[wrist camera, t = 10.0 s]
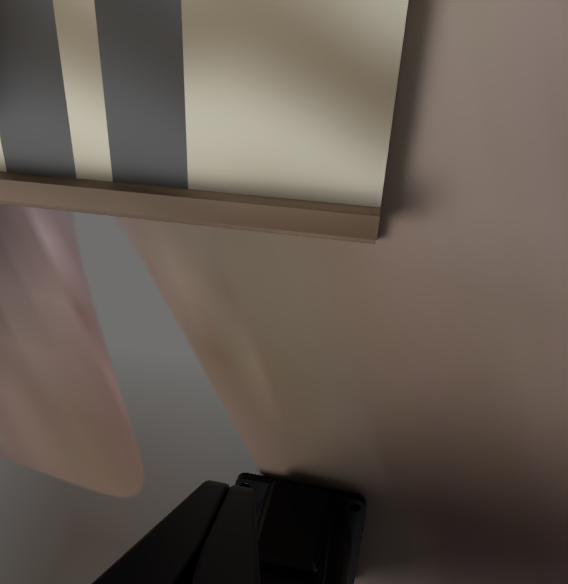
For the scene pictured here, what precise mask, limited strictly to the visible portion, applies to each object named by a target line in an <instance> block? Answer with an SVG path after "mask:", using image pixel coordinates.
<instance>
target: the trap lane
mask: <svg viewBox="0 0 568 584" xmlns="http://www.w3.org/2000/svg"><path fill="white" fill-rule="evenodd" d="M408 1H409V0H0V204H7V205H16V206H26V207H35V208H44V209H54V210H63V211H72V212H82V213H92V214H100V215H110V216H119V217H128V218H138V219H147V220H156V221H165V222H175V223H184V224H193V225H203V226H212V227H221V228H231V229H240V230H249V231H259V232H268V233H277V234H287V235H296V236H305V237H315V238H324V239H333V240H342V241H352V242H361V243H370V244H375V242H376V240H377V235H378V228H379V221H380V208H381V200H382V193H383V185H384V178H385V171H386V163H387V156H388V149H389V141H390V134H391V126H392V119H393V112H394V104H395V97H396V89H397V82H398V75H399V67H400V60H401V53H402V45H403V38H404V30H405V23H406V16H407V8H408Z"/></svg>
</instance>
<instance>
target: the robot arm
mask: <svg viewBox="0 0 568 584" xmlns="http://www.w3.org/2000/svg"><path fill="white" fill-rule="evenodd" d="M245 483H247V484H245ZM354 504H358V505H354ZM365 514H366V499H365V498H364V497H363V496H362V495H360V494H356V493H351V492H346V491H340V490H335V489H330V488H324V487H319V486H314V485H309V484H303V483H298V482H293V481H287V480H282V479H277V478H271V477H266V476H261V475H256V474H250V473H242V474H240V475H239V476H238V478H237V480H236V484H235V485H233V486H231V487H229V485H228V484H226V483H221V482H216V481H210V480H208V481H205V482H204V483H202V484H201V485H200V486H199V487H198V488H197V489H196V490H195V491H194V492H192V493H191V494H190V495H189V496H188V497H187V498H186V499H185V500H184V501H183V502H182V503H180V504H179V505H178V506H177V507H176V508H175V509H174V510H173V511H172V512H170V513H169V514H168V515H167V516H166V517H165V518H164V519H163V520H162V521H160V522H159V523H158V524H157V525H156V526H155V527H154V528H153V529H152V530H150V532H148V533H147V534H146V535H145V536H144V537H143V538H142V539H141V540H139V541H138V542H137V543H136V544H135V545H134V546H133V547H132V548H131V549H130V550H128V551H127V552H126V553H125V554H124V555H123V556H122V557H121V558H120V559H119V560H117V561H116V562H115V563H114V564H113V565H112V566H111V567H110V568H109V569H107V570H106V571H105V572H104V573H103V574H102V575H101V576H100V577H99V578H97V580H95V581H94V582H93V583H92V584H354V579H355V573H356V567H357V561H358V555H359V549H360V543H361V538H362V532H363V526H364V520H365Z"/></svg>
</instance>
